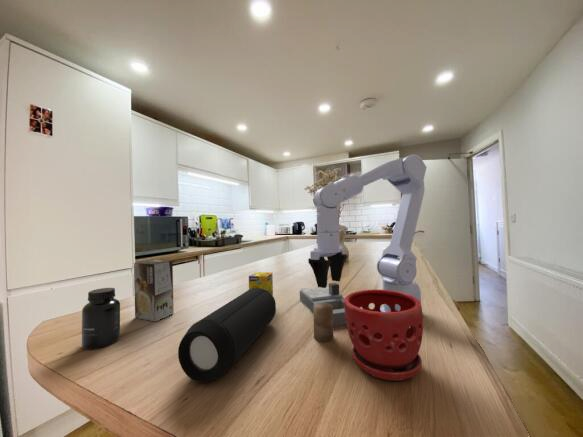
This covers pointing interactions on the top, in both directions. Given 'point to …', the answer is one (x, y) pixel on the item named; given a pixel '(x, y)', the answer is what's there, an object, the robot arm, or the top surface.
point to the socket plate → (336, 302)
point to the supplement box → (261, 281)
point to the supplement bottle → (100, 319)
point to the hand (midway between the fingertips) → (329, 283)
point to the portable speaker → (225, 335)
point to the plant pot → (385, 333)
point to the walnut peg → (323, 322)
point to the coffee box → (153, 289)
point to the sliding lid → (322, 292)
